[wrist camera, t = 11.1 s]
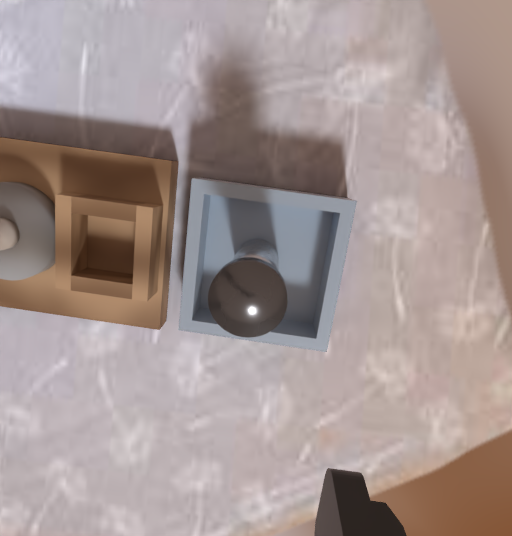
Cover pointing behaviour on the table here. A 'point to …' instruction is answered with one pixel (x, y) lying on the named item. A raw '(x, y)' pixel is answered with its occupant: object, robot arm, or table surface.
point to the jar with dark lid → (249, 291)
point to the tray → (286, 244)
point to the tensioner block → (86, 232)
